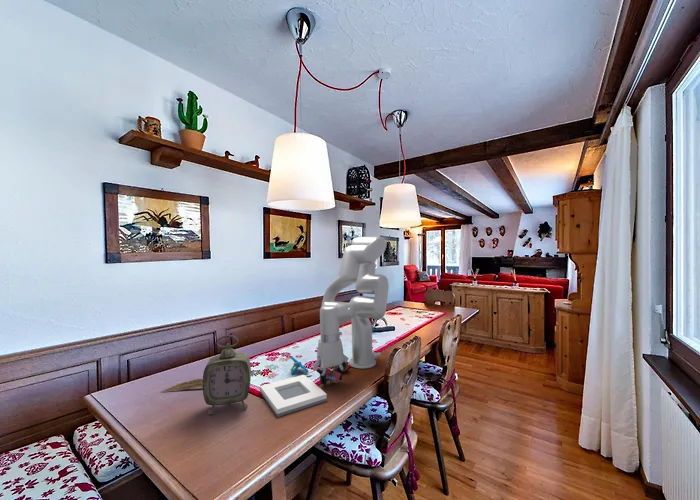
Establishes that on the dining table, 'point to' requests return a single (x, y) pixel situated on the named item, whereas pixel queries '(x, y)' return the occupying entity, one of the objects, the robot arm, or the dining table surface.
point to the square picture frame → (292, 395)
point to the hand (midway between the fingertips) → (331, 381)
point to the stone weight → (343, 367)
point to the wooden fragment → (187, 385)
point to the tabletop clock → (227, 377)
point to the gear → (297, 365)
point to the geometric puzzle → (332, 376)
